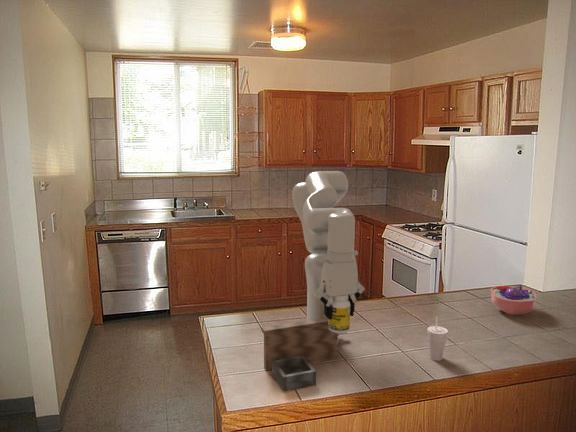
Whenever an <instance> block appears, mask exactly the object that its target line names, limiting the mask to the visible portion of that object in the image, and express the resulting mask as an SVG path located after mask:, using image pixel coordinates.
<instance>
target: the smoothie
mask: <svg viewBox="0 0 576 432" xmlns="http://www.w3.org/2000/svg"><path fill="white" fill-rule="evenodd" d="M438 319H439V318H438V316H435V325H431V326H428V327H427V331H426V333H427V336H428V347H429V348H428V349H429V350H428V351H429V358H430V359H431V360H433V361H438V362H440V361H441V360H443V355H444V350H445V345H446V340H447V337H448V335H449V330H448V329H447V328H445V327H443V326H439V325H438Z"/></svg>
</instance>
